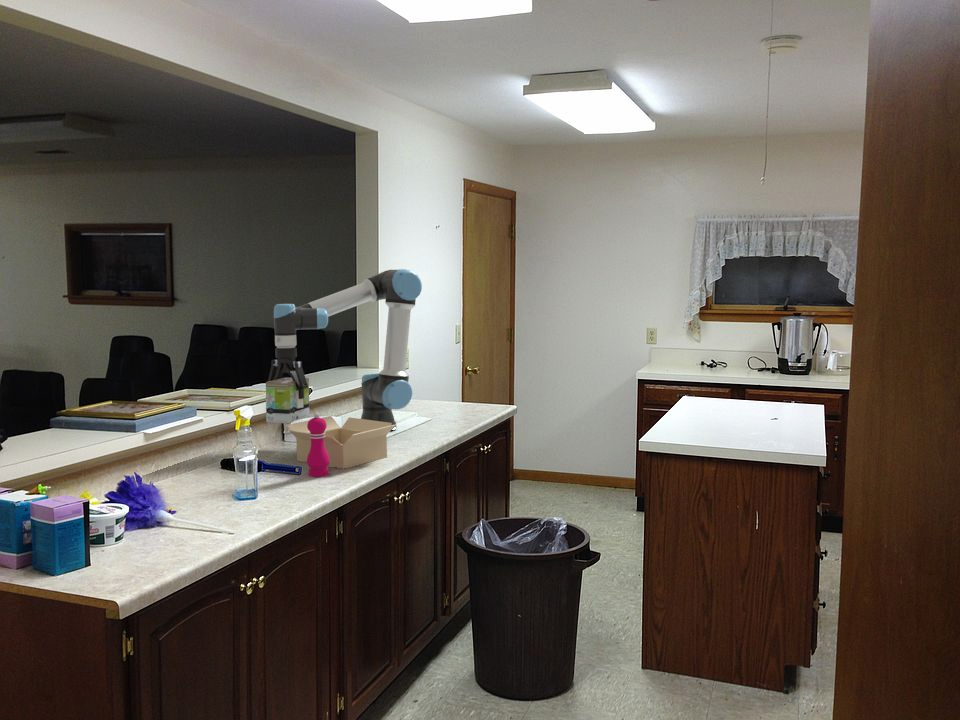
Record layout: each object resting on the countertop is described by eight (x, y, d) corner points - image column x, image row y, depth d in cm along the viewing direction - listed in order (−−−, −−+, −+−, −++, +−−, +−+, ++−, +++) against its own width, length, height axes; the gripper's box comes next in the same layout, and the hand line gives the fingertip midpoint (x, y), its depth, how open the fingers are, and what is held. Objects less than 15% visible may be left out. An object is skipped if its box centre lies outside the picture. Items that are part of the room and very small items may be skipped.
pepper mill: (322, 478, 263) (320, 415, 260) (302, 476, 265) (300, 414, 263) (334, 472, 269) (332, 411, 267) (315, 471, 272) (312, 410, 270)
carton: (339, 446, 310) (338, 414, 309) (404, 456, 291) (403, 422, 290) (279, 461, 287) (277, 426, 286) (345, 473, 268) (344, 436, 267)
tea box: (291, 423, 297) (289, 382, 295) (265, 422, 299) (264, 381, 298) (310, 416, 311) (309, 377, 309) (286, 415, 314) (284, 376, 312)
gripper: (255, 346, 307) (258, 404, 309) (300, 349, 292) (302, 410, 295) (272, 344, 313) (274, 402, 315) (316, 347, 298) (318, 407, 301)
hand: (288, 406), depth 305 cm, fingers closed on tea box, 12 cm apart
